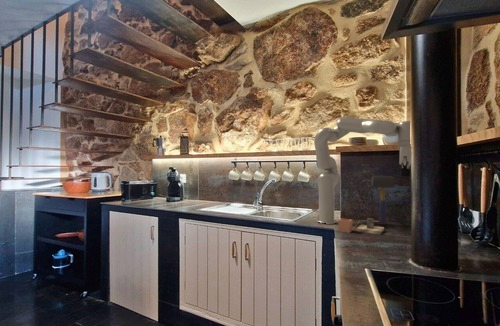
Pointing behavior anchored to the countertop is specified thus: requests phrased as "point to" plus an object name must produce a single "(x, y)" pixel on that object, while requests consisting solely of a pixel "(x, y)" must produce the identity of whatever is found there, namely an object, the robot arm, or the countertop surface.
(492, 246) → the countertop surface
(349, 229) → the orange brown cube
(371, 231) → the post base
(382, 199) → the rubber mallet
